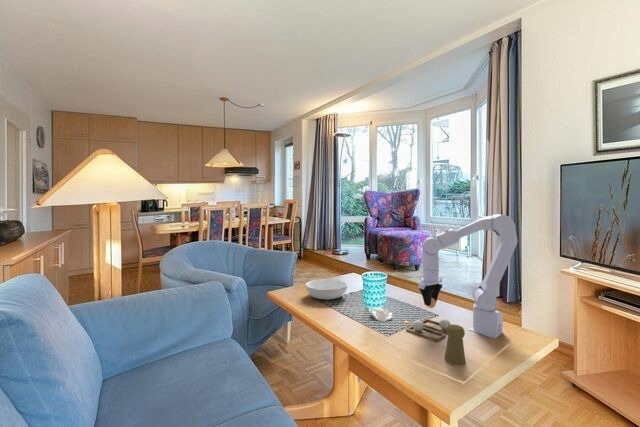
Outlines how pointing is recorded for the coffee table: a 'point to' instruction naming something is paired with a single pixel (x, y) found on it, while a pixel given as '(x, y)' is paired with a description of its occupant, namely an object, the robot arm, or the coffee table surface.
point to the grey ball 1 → (418, 325)
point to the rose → (381, 314)
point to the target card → (406, 322)
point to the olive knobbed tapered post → (455, 345)
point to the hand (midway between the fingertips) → (430, 303)
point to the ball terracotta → (432, 303)
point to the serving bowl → (326, 288)
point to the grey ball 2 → (444, 324)
